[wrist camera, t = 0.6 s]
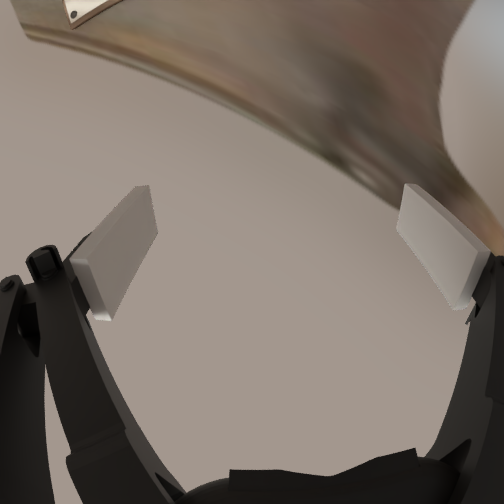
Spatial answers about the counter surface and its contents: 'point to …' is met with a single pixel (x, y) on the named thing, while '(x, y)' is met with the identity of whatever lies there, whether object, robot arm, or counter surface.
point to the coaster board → (85, 10)
